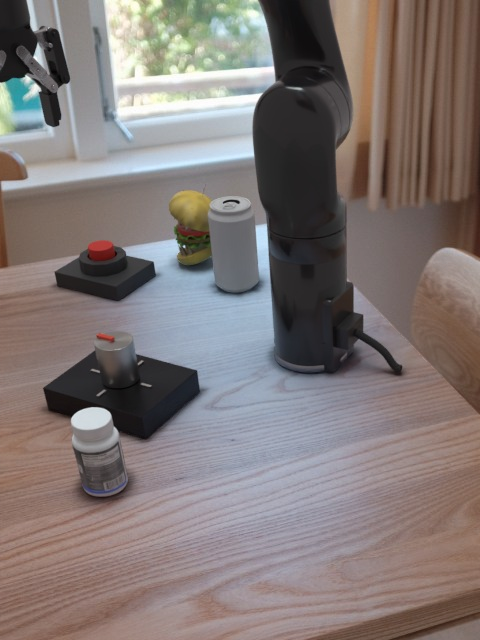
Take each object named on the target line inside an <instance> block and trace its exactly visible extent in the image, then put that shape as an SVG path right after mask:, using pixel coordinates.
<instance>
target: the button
mask: <svg viewBox="0 0 480 640" xmlns="http://www.w3.org/2000/svg"><path fill="white" fill-rule="evenodd" d="M114 246H115V245H114V243H113V242H112V241H111V240H107V239H105V240H104V239H102V240H101V239H100V240H95V241H92V242H90V243H89V244H88V245H87V249H88V252H89V257H90V259H91V260H93V261H106V260H109V259H112V258H114V257H115V251H114Z"/></svg>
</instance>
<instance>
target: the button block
mask: <svg viewBox="0 0 480 640" xmlns="http://www.w3.org/2000/svg"><path fill="white" fill-rule="evenodd" d="M114 251H115V257H114V258H112V259H109V260H106V261H93V260H91V259H90V257H89V252H88V248H87V249H84V250H83V251H82V252H80V253H79V255H78V257H77V258H75V259H73V260H71V261H70V262H68V263H67V264H65V265H63V266H61V267H60V268H58V269H57V270H55V271H54V277H55V281H56V286H57V287H60V288H64V289H68V290H74V291H78V292H81V293H86V294H90V295H93V296H98V297H101V298H106V299H109V300H114V301H118V302H119V301H120V300H122V299H124V298H125V297H126V296H128V295H130V293H132V292H134V291H136V290H137V289H138V288H140V287H141V286H142V285H144V284H145V283H146V282H149V281H150V280H151V279H153V278H154V277H156V275H157V274H156V266H155V262H154V261H153V260H148V259H145V258H139V257H136V256H130V255H127V252H126V250H125V249H123V247H121V246H116V245H114Z"/></svg>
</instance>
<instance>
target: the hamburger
mask: <svg viewBox="0 0 480 640" xmlns="http://www.w3.org/2000/svg"><path fill="white" fill-rule="evenodd" d="M206 186H207V184H206V183H205V184H204V185H203V188H202V189H201V190H200V192H199V191H197V190H181V191H179V192H177V193H175V194H174V195H173V196H172V197H171V198H170V200H169V203H168V212H169V213H170V216H172V217H173V220H175V221H177V224H175V226H173V233H174V236H176V237H175V241H176V243H177V246H178V250H179V252H178V253H177V255H176V259H177V261H178V262H179V263H180V264H181V265H183V266H194V265H198V264H200V263H203V262H205V261H206V260H208V259H209V258H212V250H211V240H210V231H209V222H208V212H209V210H210V203H211V202H212V201H213V199H212V198H211V197H209V196H208V195H206V194H204V193H205V190H206Z"/></svg>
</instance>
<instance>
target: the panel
mask: <svg viewBox="0 0 480 640" xmlns="http://www.w3.org/2000/svg"><path fill="white" fill-rule="evenodd" d="M136 357H137V362H138V368H139V374H140V378H139V380H138V381H137V382H136V383H135V384H133V385H131V386H129V387H125V388H110V387H107V386H105V385H104V384H103V383H102V380H101V375H100V371H99V366H98V361H97V356H96V352H95V350H93V351H92V352H91V353H89V354H88V355H86V356H85V357H84V358H82V359H81V360H80V361H78V362H77V363H75V364H74V365H72V366H71V367H69V368H68V369H67V370H66V371H63V373H61V374H60V375H59V376H57V377H56V378H54V379H53V380H51V381H50V382H49V383H48V384H46V385H45V386H43V387H42V391H43V394H44V398H45V402H46V405H47V406H46V407H47V410H48V411H52V412H55V413H58V414H62V415H66V416H68V417H71V418H72V416H73V415H74V414H75V413H77V412H78V411H80V410H83V409H86V408H91V407H98V408H103V409H106V410H107V411H109V412H110V414H111V416H112V420H113V426H114V427H115V428H116V429H117V431H118V432H119V433H120V432H121V433H124V434H126V435H130V436H134V437H137V438H140V439H143V440H147V439H148V438H150V437H151V436H152V435H153V434H154V433H155V432H156V431H157V430H159V429H160V428H161V427H162V426H163V425H164V424H165V423H166V422H167V421H169V420H170V418H172V417H173V416H174V415H176V414H177V413H178V412H179V411H180V410H181V409H182V408H184V407H185V406H186V405H187V404H188V403H189V402H190V401H191V400H193V399H194V398H195V397H196V396H197V395H198V394H199V393H200V392H201V390H200V389H201V388H200V380H199V372H198V369H194V368H190V367H186V366H182V365H179V364H175V363H172V362H167V361H164V360H160V359H157V358H153V357H149V356H145V355H141V354H138V353H136Z"/></svg>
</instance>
